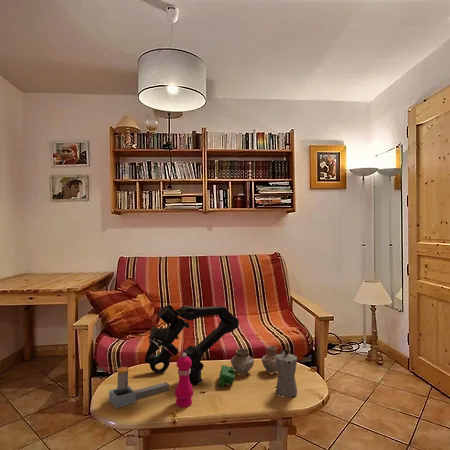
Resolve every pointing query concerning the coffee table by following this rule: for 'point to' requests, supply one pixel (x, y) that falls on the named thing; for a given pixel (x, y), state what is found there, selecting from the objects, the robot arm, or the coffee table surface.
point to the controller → (152, 365)
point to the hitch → (135, 394)
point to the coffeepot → (286, 374)
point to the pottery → (245, 362)
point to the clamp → (226, 375)
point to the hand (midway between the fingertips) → (149, 361)
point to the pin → (122, 381)
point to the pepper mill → (184, 382)
